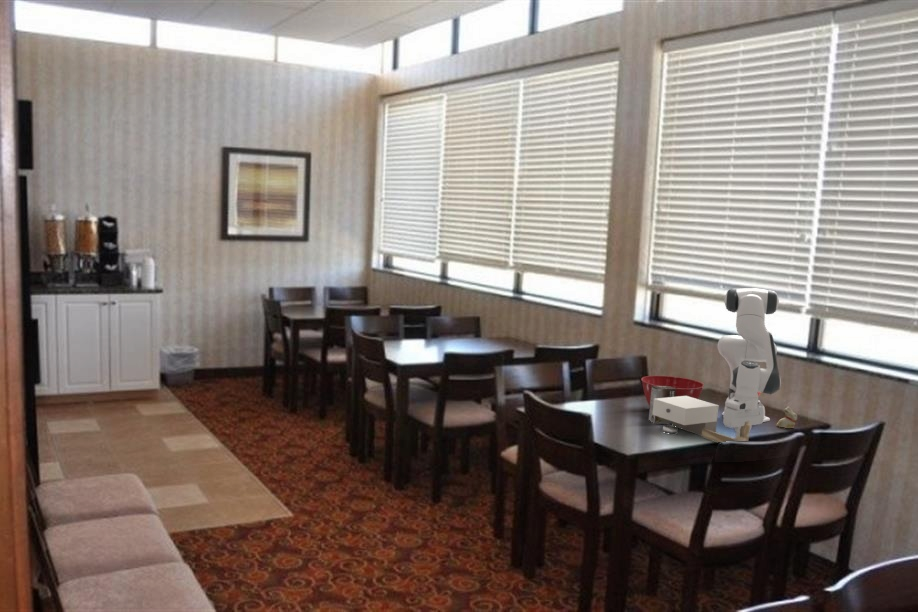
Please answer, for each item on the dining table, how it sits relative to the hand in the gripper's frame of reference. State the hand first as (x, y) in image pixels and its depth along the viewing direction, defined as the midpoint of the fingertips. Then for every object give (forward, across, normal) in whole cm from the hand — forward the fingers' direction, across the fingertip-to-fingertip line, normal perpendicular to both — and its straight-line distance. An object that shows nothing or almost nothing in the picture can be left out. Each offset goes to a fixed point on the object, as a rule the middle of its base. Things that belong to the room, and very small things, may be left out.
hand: (741, 436), depth 326 cm
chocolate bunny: (+6, -54, -18) cm, 58 cm away
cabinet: (+6, +1, -30) cm, 30 cm away
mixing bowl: (+6, -18, -56) cm, 59 cm away
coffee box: (+6, -1, -44) cm, 45 cm away
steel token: (+6, +8, -30) cm, 32 cm away
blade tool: (+6, 0, -9) cm, 10 cm away
